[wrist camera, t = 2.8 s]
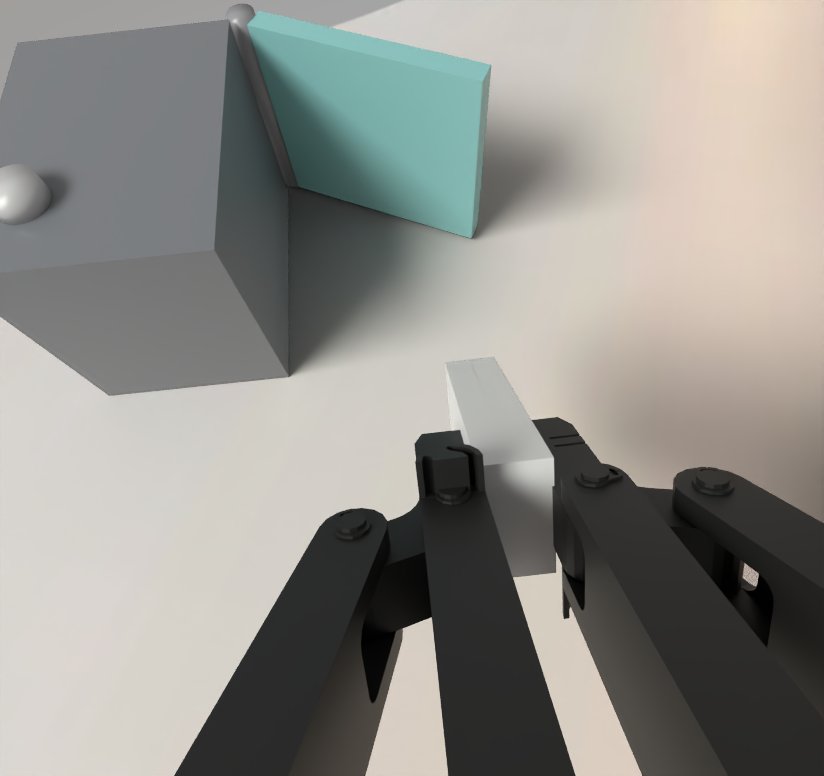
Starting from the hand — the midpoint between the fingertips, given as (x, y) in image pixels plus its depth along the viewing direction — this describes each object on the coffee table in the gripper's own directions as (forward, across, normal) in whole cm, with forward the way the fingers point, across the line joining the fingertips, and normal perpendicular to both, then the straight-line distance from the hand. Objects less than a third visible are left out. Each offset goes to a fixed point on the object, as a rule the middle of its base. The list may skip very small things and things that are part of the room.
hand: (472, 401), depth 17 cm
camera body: (+15, -12, +2) cm, 19 cm away
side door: (+18, -2, +6) cm, 19 cm away
